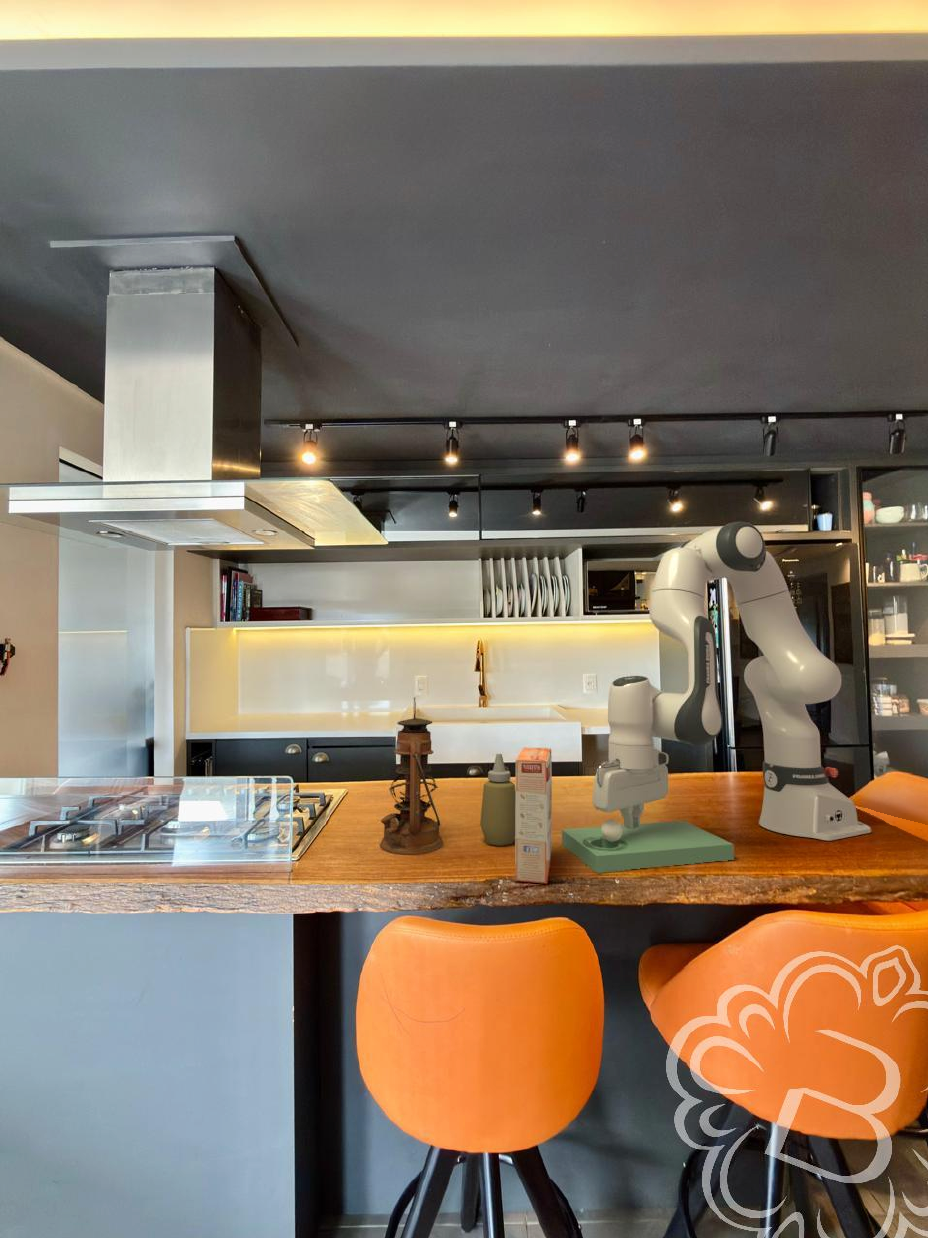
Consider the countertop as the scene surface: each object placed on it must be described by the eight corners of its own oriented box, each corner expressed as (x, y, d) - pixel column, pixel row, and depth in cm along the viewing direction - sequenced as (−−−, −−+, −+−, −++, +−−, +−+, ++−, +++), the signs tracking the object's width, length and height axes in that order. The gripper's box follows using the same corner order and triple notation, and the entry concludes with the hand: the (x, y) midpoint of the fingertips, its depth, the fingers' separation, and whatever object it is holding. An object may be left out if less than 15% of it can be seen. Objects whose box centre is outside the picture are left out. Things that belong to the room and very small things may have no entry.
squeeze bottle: (526, 841, 119) (526, 754, 120) (502, 851, 113) (501, 759, 114) (497, 833, 124) (496, 749, 126) (472, 842, 119) (471, 754, 120)
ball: (608, 846, 111) (618, 829, 113) (620, 845, 107) (630, 828, 109) (593, 832, 111) (603, 815, 113) (605, 831, 107) (614, 814, 109)
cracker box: (549, 885, 96) (548, 759, 98) (514, 882, 97) (513, 758, 99) (553, 856, 110) (552, 746, 111) (522, 854, 111) (521, 745, 112)
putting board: (683, 834, 123) (683, 820, 123) (734, 860, 108) (733, 844, 108) (562, 844, 117) (561, 829, 117) (597, 873, 101) (596, 855, 102)
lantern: (379, 832, 125) (380, 695, 127) (438, 829, 127) (438, 694, 129) (380, 860, 108) (381, 700, 110) (448, 856, 110) (448, 699, 112)
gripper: (611, 765, 106) (612, 841, 105) (673, 754, 119) (674, 822, 118) (584, 760, 111) (585, 832, 110) (647, 750, 124) (648, 815, 123)
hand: (632, 827), depth 114 cm, fingers closed
